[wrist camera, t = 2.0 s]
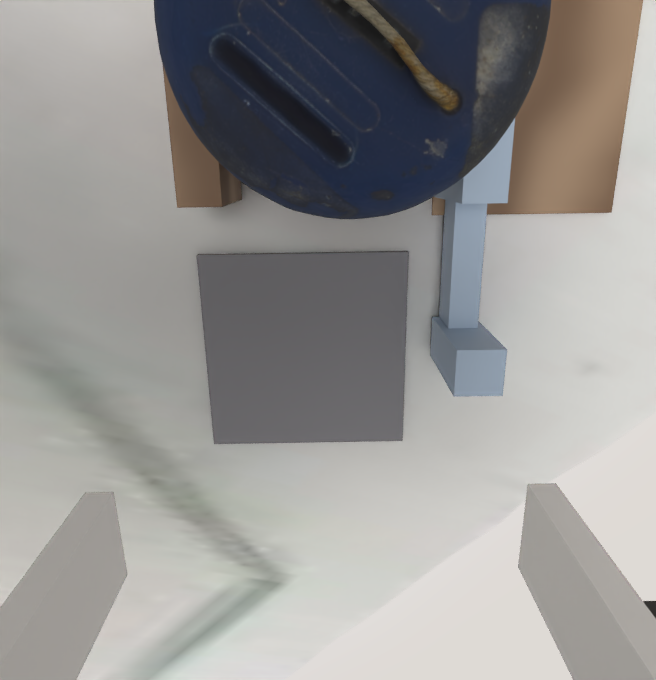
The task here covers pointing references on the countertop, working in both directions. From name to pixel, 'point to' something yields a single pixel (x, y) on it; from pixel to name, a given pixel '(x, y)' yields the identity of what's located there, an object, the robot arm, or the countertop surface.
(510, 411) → the countertop surface
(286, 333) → the mat
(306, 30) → the canister
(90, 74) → the countertop surface
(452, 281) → the tie jaw
